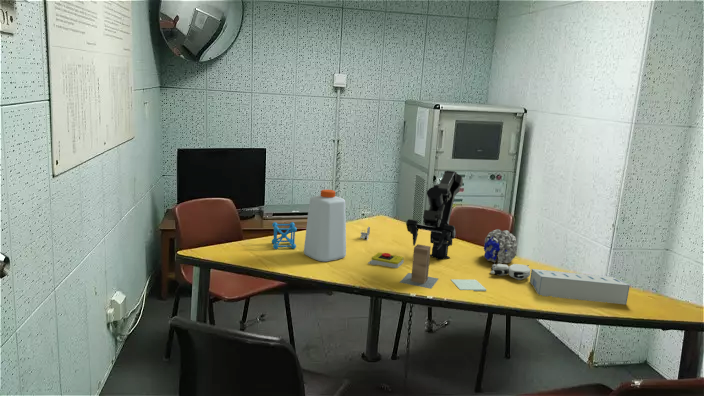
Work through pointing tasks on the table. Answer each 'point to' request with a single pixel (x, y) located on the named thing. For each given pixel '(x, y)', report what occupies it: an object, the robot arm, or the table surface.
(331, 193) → the plastic bottle
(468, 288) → the pad
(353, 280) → the table surface
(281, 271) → the table surface
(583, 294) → the warehouse
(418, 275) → the walnut block
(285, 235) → the molecular structure
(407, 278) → the gray square plate
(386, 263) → the emergency button
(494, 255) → the educational model
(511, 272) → the robot toy
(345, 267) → the table surface
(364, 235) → the architectural model
